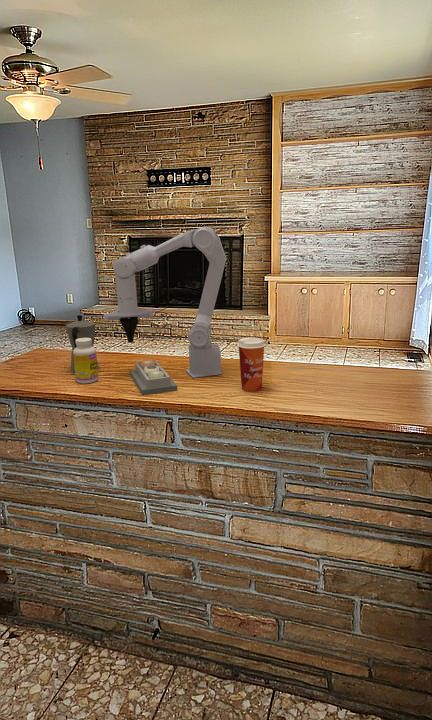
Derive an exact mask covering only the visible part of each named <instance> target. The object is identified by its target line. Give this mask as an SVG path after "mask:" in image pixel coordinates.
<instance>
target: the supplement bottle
mask: <svg viewBox="0 0 432 720" xmlns="http://www.w3.org/2000/svg"><path fill="white" fill-rule="evenodd" d="M75 341H76V345H77V347H76V348H75V349H74V350H73V356H74V365H75V373H74V375H75V381H76V382H77V383H78V384H92V383H94V382H97V381H98V380H99V369H98V368H97V362H98V359H97V349H96V348H95V347H94V345H93V346H91V344H92V339H91V338H79V339H76V340H75Z"/></svg>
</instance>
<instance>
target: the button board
mask: <svg viewBox="0 0 432 720" xmlns="http://www.w3.org/2000/svg"><path fill="white" fill-rule="evenodd" d="M152 361H155V366H159V371H162V372H164V377H160V378H152V379H149V378H148V373H149V372H148V373H145V372H144V367H141V366H140V362H141V361H137V362H134V368H135V369H130V370H129V376H130V377H131V379H132V381H133V382H134V384H135V386H136V387H137V389H138V391H139V392H140V395H142V396H147V395H148V396H149V395H155V394H161V393H169V392H176V391H178V384H177V383H176V382H175V381H174V379H173V378H172V377H171V376H170V374H168V372H167V371H166V370H165V369H164V368H163V366H162V365H161V364H160V363H159V362H158V361H157V360H156V359H154V360H152Z"/></svg>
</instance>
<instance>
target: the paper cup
mask: <svg viewBox="0 0 432 720" xmlns="http://www.w3.org/2000/svg"><path fill="white" fill-rule="evenodd" d="M237 347H238V355H239V368H240V369H239V371H240V382H241V383H240V384H241V390H243V391H244V392H251V393H252V392H254V393H255V392H259V391H261V390H262V389H263V375H264V372H263V371H264V359H265V358H264V357H265V356H264V355H265V354H264V353H265V347H266V343H265V341H264V339H263V338H260V337H252V336H251V337H244V338H243V337H242V338H241V339H239V340H238V343H237Z"/></svg>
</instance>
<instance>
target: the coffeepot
mask: <svg viewBox="0 0 432 720" xmlns="http://www.w3.org/2000/svg"><path fill="white" fill-rule="evenodd" d="M76 317H77V320H76V321H73V322H70V323H68V324H65V328H66V333H67V337H68V339H69V343H70V346H71V350H72V351H71V355H70V356H71V357H70V359H71V360H70V371H71V372H72V373H73V374H75V365H74V356H73V350H74V349H75V348H76V347H77V345H76V341H75V340H76V339H79V338H91V339H92V344H91V346H93V347H94V345H95V339H96V336H95V335H96V323H95V322H94V321H88V320H82V319H83V314H82V315H81V314H78V315H76ZM97 368H98V370H100V366H99V363H98V361H97Z"/></svg>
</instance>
